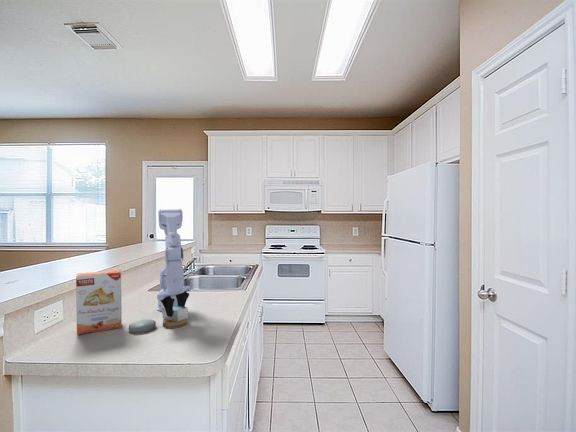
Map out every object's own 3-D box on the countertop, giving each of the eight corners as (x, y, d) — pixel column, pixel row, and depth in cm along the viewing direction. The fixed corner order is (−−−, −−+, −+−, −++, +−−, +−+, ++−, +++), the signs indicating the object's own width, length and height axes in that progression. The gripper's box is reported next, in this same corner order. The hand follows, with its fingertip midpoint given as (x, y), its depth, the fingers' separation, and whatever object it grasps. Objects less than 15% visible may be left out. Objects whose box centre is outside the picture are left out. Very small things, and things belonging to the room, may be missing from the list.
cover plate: (164, 310, 119) (164, 308, 119) (171, 308, 122) (171, 306, 122) (177, 312, 116) (177, 310, 116) (184, 310, 119) (184, 308, 119)
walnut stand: (157, 325, 117) (157, 321, 117) (176, 318, 125) (176, 313, 125) (174, 329, 113) (174, 324, 113) (192, 321, 121) (192, 317, 121)
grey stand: (123, 330, 113) (123, 325, 113) (145, 322, 121) (144, 318, 121) (139, 335, 109) (139, 329, 108) (161, 326, 116) (161, 321, 116)
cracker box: (76, 335, 109) (75, 275, 109) (78, 329, 114) (77, 272, 114) (121, 328, 116) (120, 271, 115) (122, 323, 121) (120, 269, 121)
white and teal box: (162, 318, 119) (162, 308, 119) (173, 314, 123) (172, 304, 123) (177, 321, 115) (177, 310, 115) (187, 317, 120) (187, 307, 120)
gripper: (166, 283, 111) (167, 321, 111) (196, 275, 124) (196, 310, 124) (152, 281, 114) (153, 318, 114) (183, 274, 127) (183, 307, 127)
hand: (175, 314), depth 119 cm, fingers closed on white and teal box, 5 cm apart
